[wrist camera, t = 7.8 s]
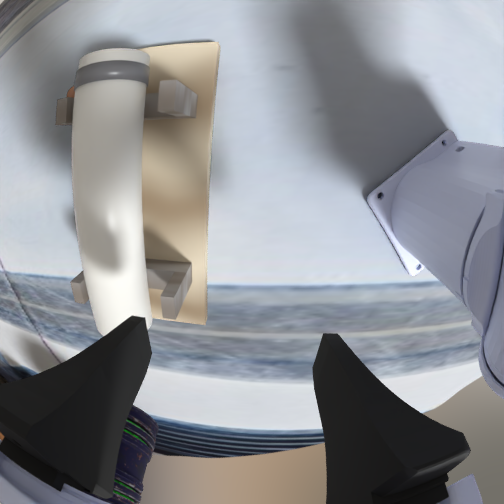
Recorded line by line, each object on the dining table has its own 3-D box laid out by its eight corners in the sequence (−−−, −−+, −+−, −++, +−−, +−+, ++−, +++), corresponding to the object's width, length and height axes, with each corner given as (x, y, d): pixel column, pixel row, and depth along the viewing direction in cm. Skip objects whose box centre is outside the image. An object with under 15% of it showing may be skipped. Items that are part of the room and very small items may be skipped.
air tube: (165, 314, 18) (128, 349, 14) (121, 297, 19) (83, 326, 15) (166, 59, 11) (114, 41, 8) (115, 72, 12) (64, 65, 9)
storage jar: (173, 435, 30) (153, 524, 16) (126, 435, 32) (102, 509, 18) (126, 393, 26) (87, 495, 13) (82, 397, 28) (44, 476, 14)
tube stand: (99, 61, 13) (55, 45, 8) (220, 47, 13) (205, 12, 8) (108, 303, 21) (78, 341, 16) (207, 317, 21) (194, 366, 16)
